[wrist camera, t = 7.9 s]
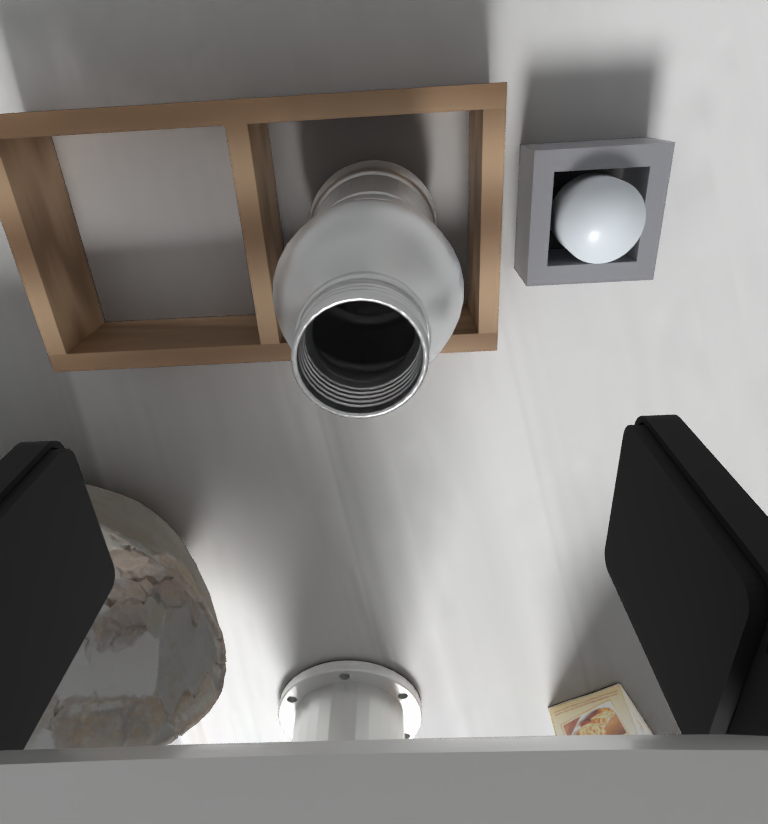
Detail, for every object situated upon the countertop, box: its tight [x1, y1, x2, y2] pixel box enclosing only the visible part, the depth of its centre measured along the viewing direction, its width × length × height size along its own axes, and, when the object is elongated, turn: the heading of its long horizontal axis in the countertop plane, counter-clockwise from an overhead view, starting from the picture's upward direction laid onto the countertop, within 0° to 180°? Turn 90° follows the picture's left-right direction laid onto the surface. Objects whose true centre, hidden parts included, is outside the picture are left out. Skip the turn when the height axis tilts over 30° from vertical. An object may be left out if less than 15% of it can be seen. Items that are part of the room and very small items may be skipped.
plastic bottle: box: [272, 160, 464, 419], centre depth 25 cm, size 6×7×20 cm
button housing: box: [514, 137, 675, 286], centre depth 32 cm, size 7×7×4 cm
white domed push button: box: [550, 172, 646, 264], centre depth 30 cm, size 4×4×2 cm
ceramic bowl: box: [24, 484, 226, 750], centre depth 40 cm, size 22×23×10 cm
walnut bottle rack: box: [0, 82, 507, 372], centre depth 31 cm, size 12×24×5 cm, turn 93°
